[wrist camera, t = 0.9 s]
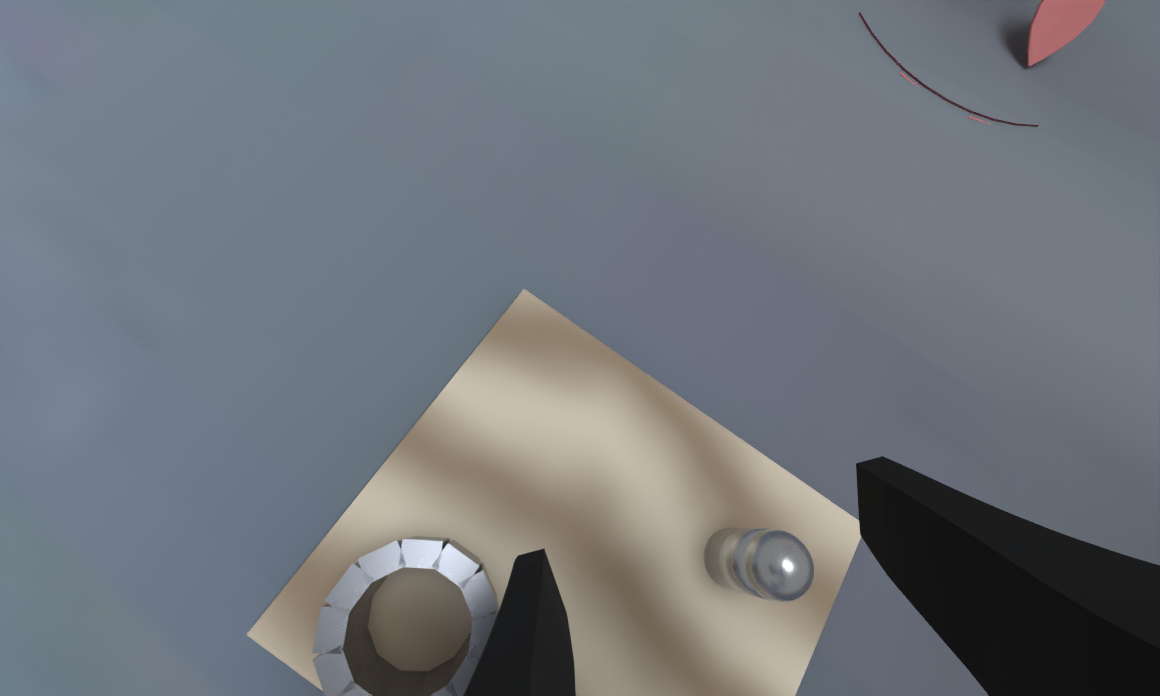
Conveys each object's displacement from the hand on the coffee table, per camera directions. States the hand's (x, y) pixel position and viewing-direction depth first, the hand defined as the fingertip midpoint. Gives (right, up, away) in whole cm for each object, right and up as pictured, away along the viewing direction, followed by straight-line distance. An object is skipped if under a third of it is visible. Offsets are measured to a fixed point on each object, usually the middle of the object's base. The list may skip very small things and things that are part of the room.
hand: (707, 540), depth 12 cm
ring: (-9, -6, +10) cm, 15 cm away
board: (-2, -6, +12) cm, 13 cm away
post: (+4, -5, +13) cm, 15 cm away
